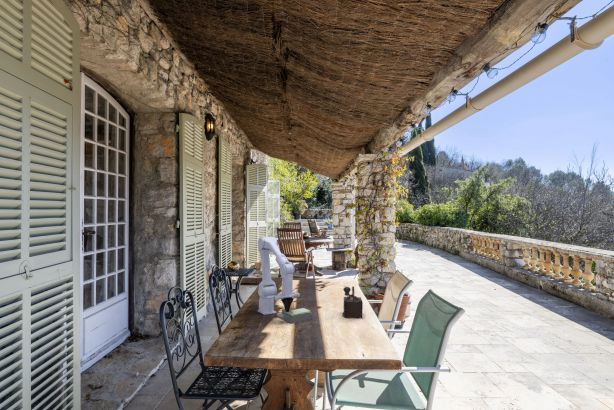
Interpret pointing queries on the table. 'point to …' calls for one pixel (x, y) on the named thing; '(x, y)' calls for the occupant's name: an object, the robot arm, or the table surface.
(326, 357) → the table surface
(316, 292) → the table surface
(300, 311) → the lid
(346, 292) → the manual coffee grinder
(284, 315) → the housing
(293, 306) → the tan cylindrical peg
